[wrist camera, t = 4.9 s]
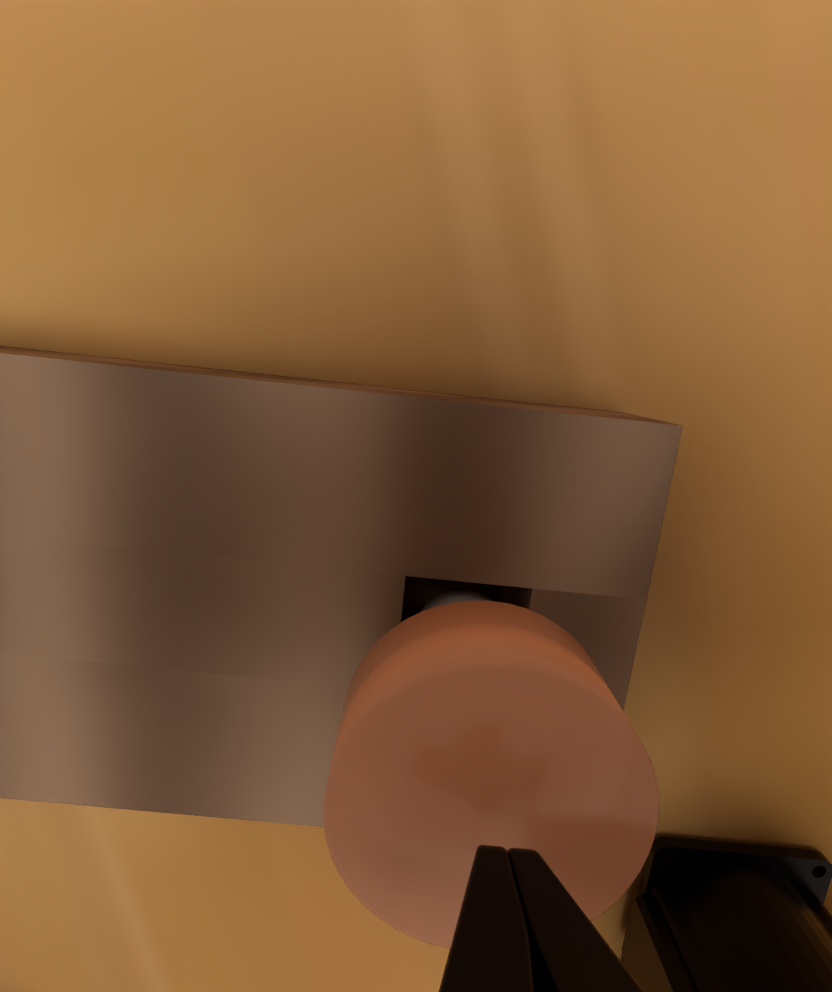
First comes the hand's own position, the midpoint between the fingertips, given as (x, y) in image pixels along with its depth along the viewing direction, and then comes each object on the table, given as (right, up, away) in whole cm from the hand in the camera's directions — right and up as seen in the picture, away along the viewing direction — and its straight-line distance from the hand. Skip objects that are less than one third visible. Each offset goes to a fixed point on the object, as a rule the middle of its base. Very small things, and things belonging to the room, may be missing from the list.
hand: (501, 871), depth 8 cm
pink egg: (0, +2, +7) cm, 7 cm away
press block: (-8, +3, +10) cm, 13 cm away
